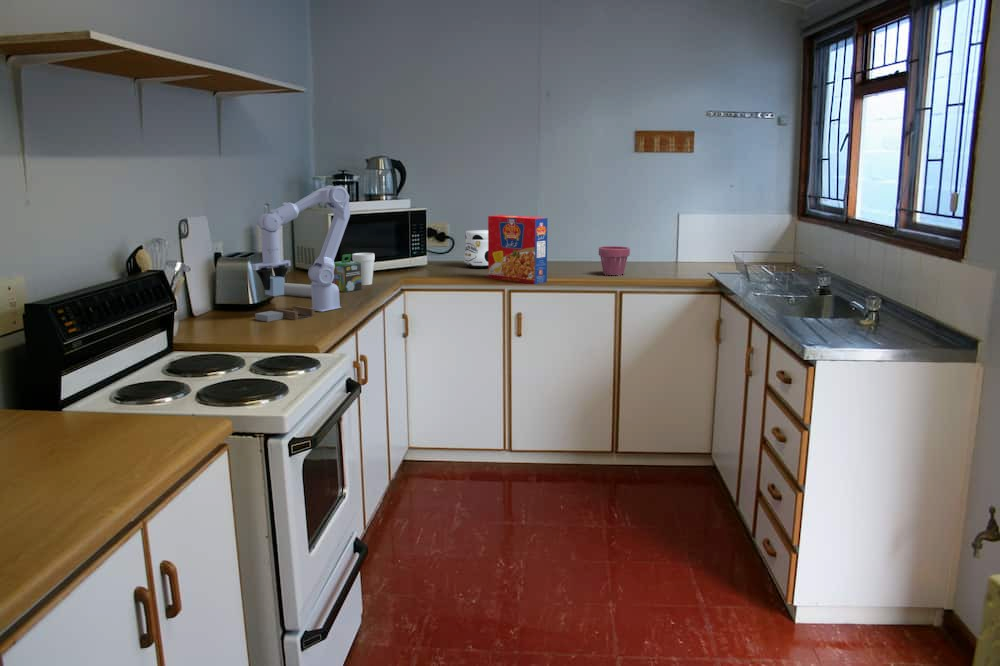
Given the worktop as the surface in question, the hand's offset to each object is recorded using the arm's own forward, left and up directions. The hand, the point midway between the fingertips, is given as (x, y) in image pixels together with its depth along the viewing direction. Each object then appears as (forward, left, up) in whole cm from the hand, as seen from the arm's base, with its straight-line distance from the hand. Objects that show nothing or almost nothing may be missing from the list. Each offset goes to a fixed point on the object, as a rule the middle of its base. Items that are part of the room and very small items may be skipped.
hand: (273, 288), depth 272 cm
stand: (+6, +5, -9) cm, 12 cm away
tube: (-32, -23, -9) cm, 40 cm away
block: (0, +1, -2) cm, 2 cm away
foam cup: (-68, -26, -9) cm, 74 cm away
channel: (-2, +8, -9) cm, 12 cm away
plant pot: (-156, +48, -9) cm, 164 cm away
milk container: (-142, -19, -9) cm, 144 cm away
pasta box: (-116, +21, -9) cm, 119 cm away
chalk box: (-52, -20, -9) cm, 57 cm away
